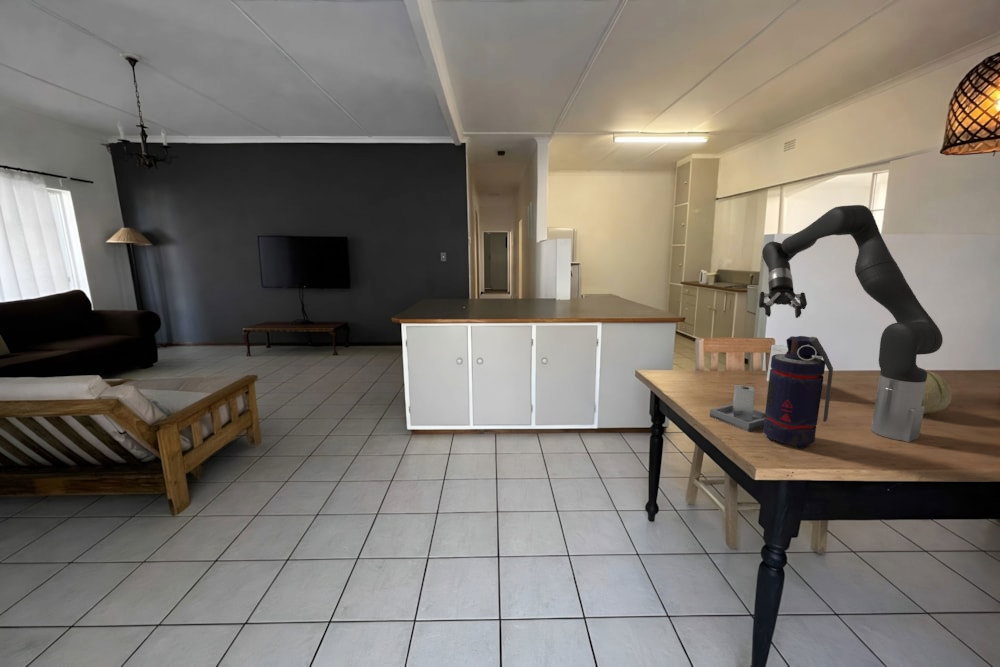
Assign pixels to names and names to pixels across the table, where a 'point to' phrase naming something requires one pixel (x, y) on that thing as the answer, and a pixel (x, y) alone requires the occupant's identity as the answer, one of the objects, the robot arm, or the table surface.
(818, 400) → the grenade
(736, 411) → the grey tall block
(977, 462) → the table surface
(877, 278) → the robot arm
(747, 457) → the table surface
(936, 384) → the honeydew melon
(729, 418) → the tray
